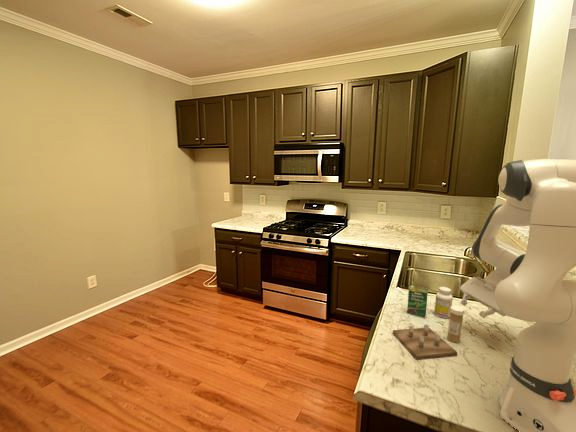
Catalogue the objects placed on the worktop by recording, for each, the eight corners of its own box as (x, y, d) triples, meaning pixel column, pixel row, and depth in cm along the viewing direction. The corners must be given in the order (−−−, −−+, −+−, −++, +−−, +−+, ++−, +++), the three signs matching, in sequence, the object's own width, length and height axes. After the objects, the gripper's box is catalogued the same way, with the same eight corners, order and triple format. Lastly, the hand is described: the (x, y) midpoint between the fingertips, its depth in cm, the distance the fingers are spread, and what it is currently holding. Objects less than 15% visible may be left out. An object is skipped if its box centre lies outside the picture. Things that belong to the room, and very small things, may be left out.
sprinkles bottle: (462, 341, 109) (467, 309, 107) (455, 344, 108) (459, 311, 105) (451, 335, 114) (455, 304, 111) (444, 337, 112) (448, 306, 109)
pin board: (456, 355, 101) (458, 341, 100) (416, 359, 98) (418, 345, 97) (428, 330, 116) (429, 318, 115) (392, 333, 114) (393, 321, 113)
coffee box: (406, 313, 130) (408, 286, 128) (407, 310, 133) (409, 284, 131) (425, 318, 126) (427, 291, 124) (425, 315, 129) (428, 288, 126)
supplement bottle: (440, 310, 134) (443, 284, 132) (453, 316, 128) (457, 290, 126) (430, 313, 131) (433, 287, 129) (444, 319, 125) (447, 293, 123)
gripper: (471, 270, 119) (448, 293, 119) (517, 291, 99) (489, 318, 99) (479, 280, 120) (456, 302, 120) (525, 302, 100) (498, 329, 100)
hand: (471, 310), depth 109 cm, fingers open, 8 cm apart
